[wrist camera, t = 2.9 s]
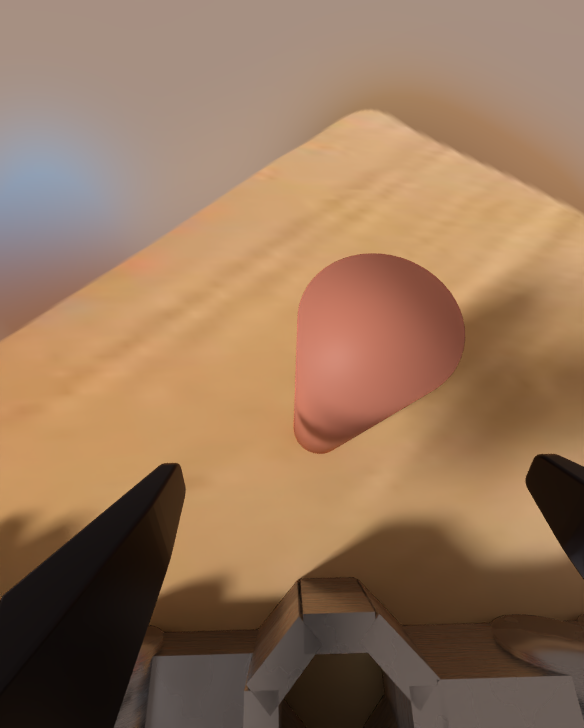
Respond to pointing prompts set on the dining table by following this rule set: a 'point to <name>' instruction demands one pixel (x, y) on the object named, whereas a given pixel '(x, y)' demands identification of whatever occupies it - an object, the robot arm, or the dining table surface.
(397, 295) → the pin
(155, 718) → the grey jointed bar
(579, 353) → the dining table surface
